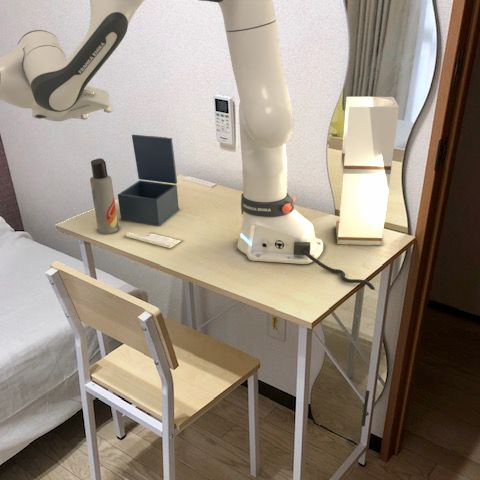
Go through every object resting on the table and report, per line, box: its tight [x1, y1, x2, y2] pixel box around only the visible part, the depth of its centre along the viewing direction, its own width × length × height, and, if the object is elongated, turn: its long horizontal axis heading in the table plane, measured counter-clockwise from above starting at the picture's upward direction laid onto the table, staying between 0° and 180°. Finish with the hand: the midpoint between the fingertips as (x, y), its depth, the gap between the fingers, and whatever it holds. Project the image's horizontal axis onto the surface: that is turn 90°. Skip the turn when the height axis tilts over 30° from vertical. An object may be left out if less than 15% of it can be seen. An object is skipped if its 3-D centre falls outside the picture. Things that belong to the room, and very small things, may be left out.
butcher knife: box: [125, 231, 181, 249], centre depth 158 cm, size 5×15×1 cm, turn 59°
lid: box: [131, 134, 178, 185], centre depth 171 cm, size 13×13×5 cm
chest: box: [117, 179, 180, 227], centre depth 171 cm, size 13×13×8 cm
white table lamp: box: [335, 96, 400, 246], centre depth 148 cm, size 11×11×35 cm
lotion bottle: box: [89, 157, 119, 235], centre depth 159 cm, size 6×6×20 cm
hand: (98, 112), depth 150 cm, fingers open, 8 cm apart
